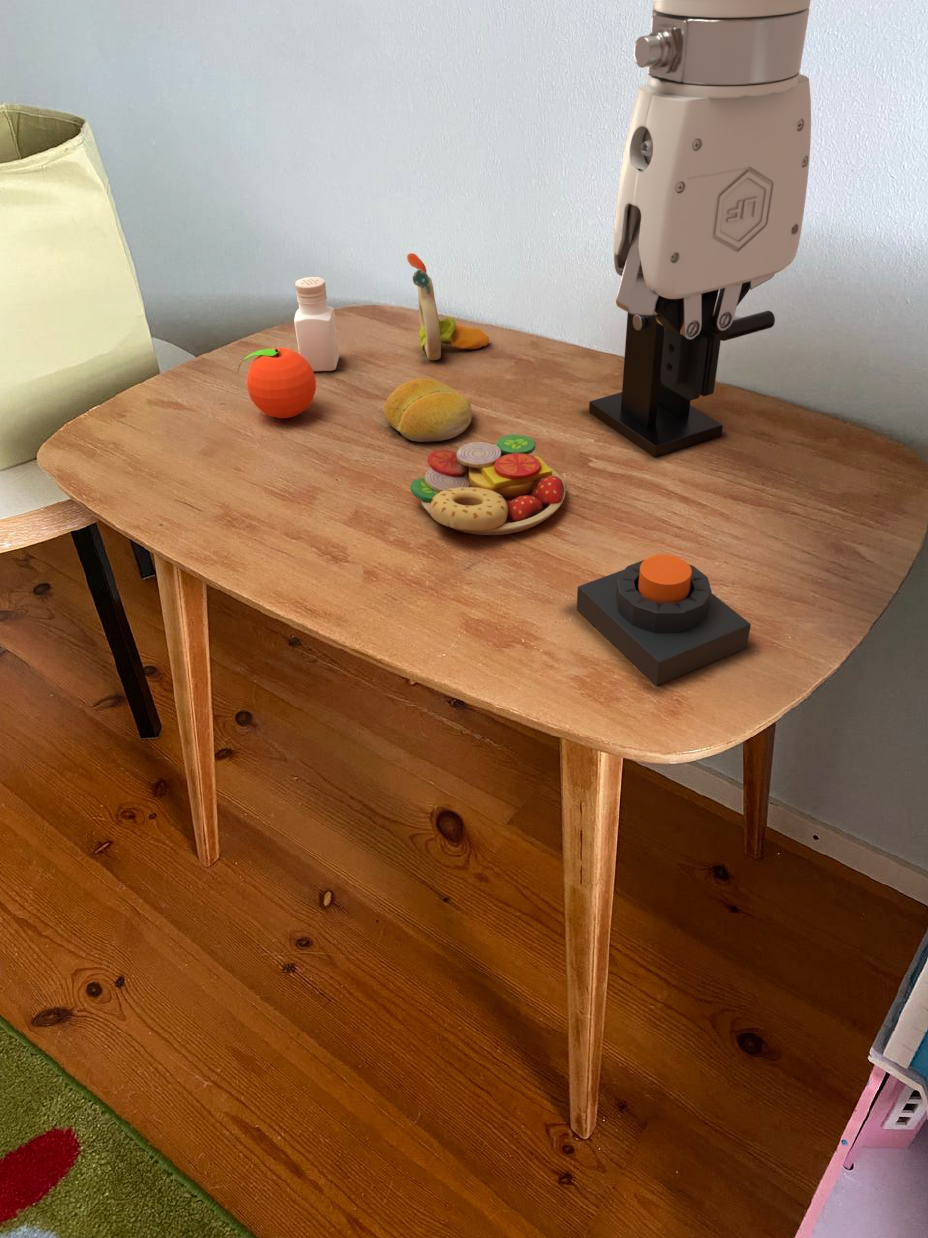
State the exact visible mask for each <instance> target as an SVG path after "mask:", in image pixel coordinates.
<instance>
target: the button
mask: <svg viewBox="0 0 928 1238" xmlns="http://www.w3.org/2000/svg"><path fill="white" fill-rule="evenodd" d="M643 560H644V561H643ZM643 560H642V561H643V562H642V564H641V566H640V573H639V584H638V589H639V592H640V593H641V595H642V596H643V597H645V598H646V599H649V600H653V601H656V602H659V603H677V602H679V601H682V600H684V599H685V598H686V597H687V596H688V594H689V590H690V582H691V575H692V569H691V567H690V565H691V564H690V565H689V563H688V562H687V561H686V560H684V559H683V558H680V557H678V556H675V555H670V554H657V555H652V556H649V557H647V558H645V559H643Z"/></svg>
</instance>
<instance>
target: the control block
mask: <svg viewBox="0 0 928 1238" xmlns="http://www.w3.org/2000/svg"><path fill="white" fill-rule="evenodd" d="M644 560H645V559H642V560H639V561H637V562H634V563H632V564H629V565H627V566H626V567H625V568H624V569H622V570H619V571H616V572H614V573H611V574H608V575H604V576H603V577H599V578H597V579H595V580H591V581H589V582H586V583H583V584H581V585H578V586H577V591H576V592H577V593H576V610H577V611H578V613H580V614H581V615H582V616H583V617H584V618H585V619H586V620H587V621H588V622H589V623H590V624H591V625H592V626H593V627H594V628H596V630H597V631H599V632H600V633H601V635H602V636H604V637H605V638H606V639H607V640H608V641H609V642H610V643H611V644H612V645H613V646H614V647H615V648H616V649H617V650H619V652H621V653H622V654H623V656H625V657H626V658H627V659H628V660H629V661H630V662H631V663H632V664H633V665H634V666H635V667H636V668H637V669H638V670H639V671H640V672H641V673H642V674H644V676H646V677H647V678H648V679H649V680H650V681H651V682H652V683H653V684H654V685H655V686H660V685H662V684H665V683H667V682H669V681H671V680H674V679H676V678H678V677H681V676H684V675H686V674H688V673H691V672H693V671H695V670H697V669H700V668H703V667H704V666H707V665H709V664H711V663H714V662H716V661H718V660H721V659H723V658H726V657H728V656H730V655H732V654H735V653H738V652H740V651H742V650H745V649H747V647H748V643H749V637H750V633H751V632H750V631H751V628H752V627H751V626H752V624H751V623H750V622H749V621H747V619H745V618H744V617H743V616H742V615H740V614H739V613H738V612H736V611H735V610H734V609H733V608H732V607H730V606H729V605H728V604H726V602H724V601H723V600H721V599H720V598H719V597H718V596H717V595H715V593H713V592H712V588H711V584H710V580H709V577H708V576H707V575H706V574H705V573H703V572H702V571H700V570H699V569H698V568H697V567H696V566H694V565H692V564H689V563H688V564H689V565H690V567H691V569H692V575H691V582H690V590H689V594H688V596H687V597H686V598H685V599H684V600H682V601H679V602H677V603H659V602H656V601H653V600H649V599H646V598H645V597H643V596H642V595H641V593H640V592H639V589H638V584H639V573H640V566H641V564H642V562H643V561H644Z"/></svg>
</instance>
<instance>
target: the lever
mask: <svg viewBox="0 0 928 1238" xmlns="http://www.w3.org/2000/svg"><path fill="white" fill-rule="evenodd" d="M775 323H776V317H775V314H774V313H773V312H772V311H770V310H764V311H761V312H757V313H754V314H750V315H745V316H734V319H733V322H732V324H731V326H730V327H729V328H728V329H726V330H724V331H721V333H722V334H721V341H722V342H725V341H729V340H733V339H736V338H741V337H743V336H747V335H751V334H754V333H757V332H761V331H765V330H768V329H771V328H773V327H774V325H775Z"/></svg>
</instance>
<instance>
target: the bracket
mask: <svg viewBox="0 0 928 1238" xmlns="http://www.w3.org/2000/svg"><path fill="white" fill-rule="evenodd" d="M677 300H678V301H679V299H677ZM626 318H627V319H626V328H625V329H626V331H625V344H624V358H623V373H622V388H621V392H620V391H619V392H617V393H613V394H611V395H606V396H603V397H600V398H597V399H593V400H589V404H588V405H589V406H588V413H590V414H591V415H593V416H594V417H596V418H597V419H598V420H600V421H601V422H602V423H604V424H606V425H607V426H608V427H610V428H611V429H613V430H614V431H616V432H617V433H619V434H620V435H621V436H623V437H625V438H626V439H627V440H629V441H630V442H632V443H633V444H635V445H636V446H638V447H639V448H640V449H642V450H643V451H645V452H646V453H647V454H649V455H651V456H652V457H653V458H658V457H660V456H664V455H667V454H670V453H672V452H675V451H679V450H682V449H685V448H688V447H691V446H694V445H697V444H701V443H703V442H706V441H707V442H708V441H710V440H712V439H715V438H719V437H721V436H722V435H723V427H724V424H722V423H721V422H719V421H718V420H716V419H714V418H712V417H711V416H709V415H708V414H706V413H704V412H702V411H701V410H699V409H697V408H696V407H694V406H692V405H691V401H690V400H687V399H686V398H684V397H682V396H681V395H679V394H678V393H676V392H674V391H673V390H671V389H669V388H668V387H666V386H664V385H663V384H662V382H661V365H662V355H663V344H664V334H665V327H664V326H663V325H661V324H659V323H658V322H657V320H656V317H655V316H654V315H633V314H630V313H628V312H627V317H626Z"/></svg>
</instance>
